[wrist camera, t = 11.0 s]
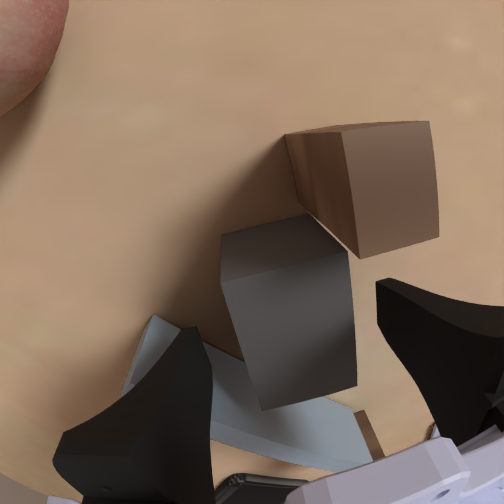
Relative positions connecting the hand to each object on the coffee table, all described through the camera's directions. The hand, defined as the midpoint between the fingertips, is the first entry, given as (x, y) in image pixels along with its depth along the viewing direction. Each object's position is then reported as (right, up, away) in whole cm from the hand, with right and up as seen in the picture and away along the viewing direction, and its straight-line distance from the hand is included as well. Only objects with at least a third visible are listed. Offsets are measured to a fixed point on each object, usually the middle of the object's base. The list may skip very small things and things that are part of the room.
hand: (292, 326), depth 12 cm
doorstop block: (0, +1, +3) cm, 4 cm away
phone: (-3, -22, +12) cm, 25 cm away
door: (-1, -5, +5) cm, 7 cm away
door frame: (+3, -1, +4) cm, 5 cm away
